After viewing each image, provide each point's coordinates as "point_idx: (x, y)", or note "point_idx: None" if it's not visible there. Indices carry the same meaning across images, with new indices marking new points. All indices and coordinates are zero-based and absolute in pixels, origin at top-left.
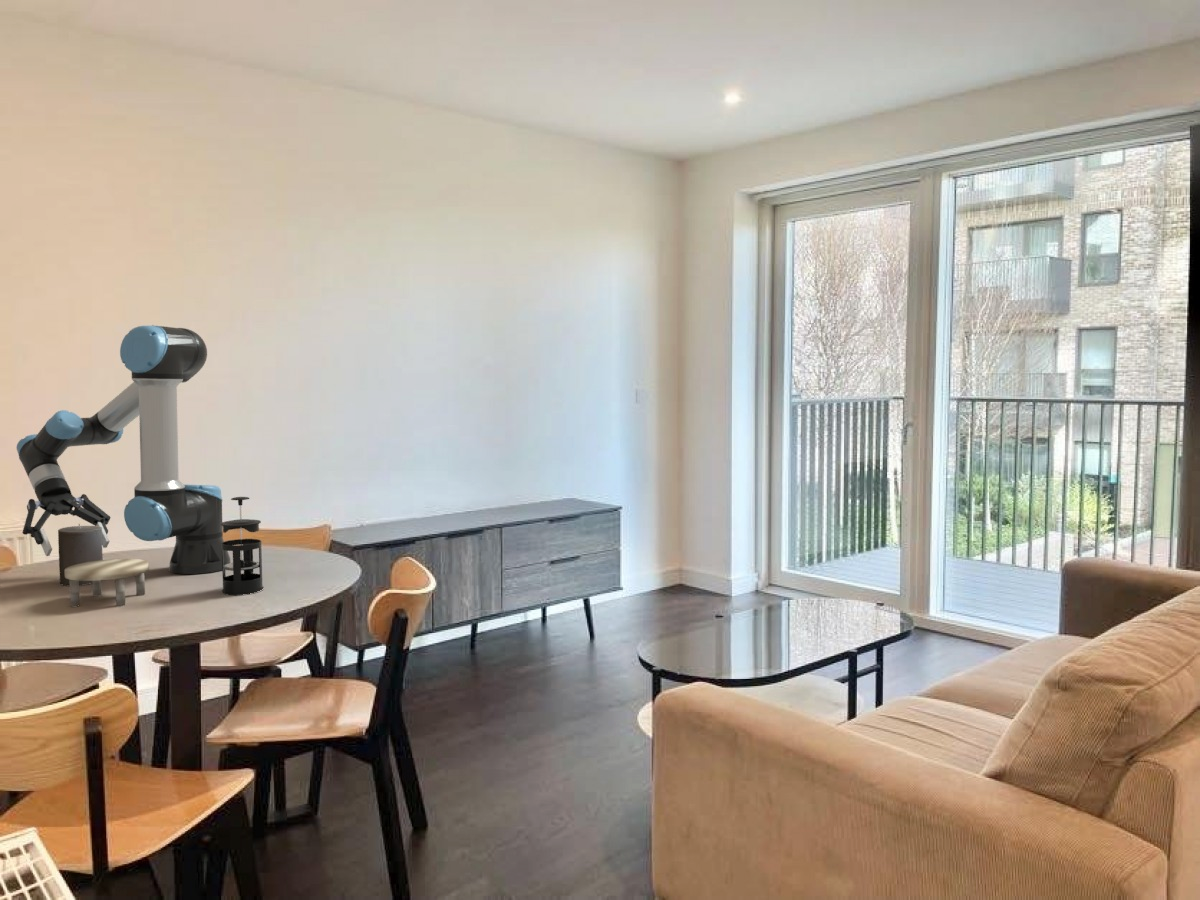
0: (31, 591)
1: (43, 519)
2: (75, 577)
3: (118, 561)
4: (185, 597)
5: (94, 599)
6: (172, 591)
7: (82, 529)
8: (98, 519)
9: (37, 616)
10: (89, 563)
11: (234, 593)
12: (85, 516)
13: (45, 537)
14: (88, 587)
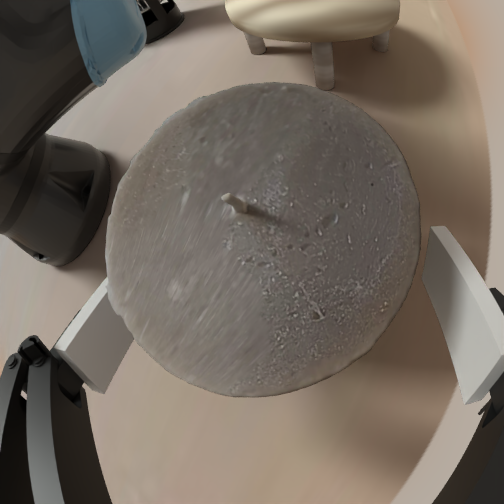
0: None
1: (493, 478)
2: None
3: (271, 7)
4: (223, 19)
5: (340, 61)
6: (210, 49)
7: (253, 133)
8: (45, 372)
9: (434, 41)
10: (337, 16)
11: (181, 12)
12: (76, 459)
13: (477, 283)
14: None
